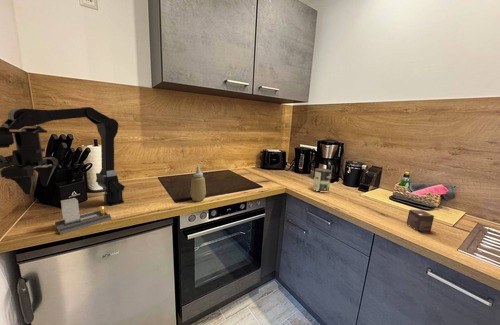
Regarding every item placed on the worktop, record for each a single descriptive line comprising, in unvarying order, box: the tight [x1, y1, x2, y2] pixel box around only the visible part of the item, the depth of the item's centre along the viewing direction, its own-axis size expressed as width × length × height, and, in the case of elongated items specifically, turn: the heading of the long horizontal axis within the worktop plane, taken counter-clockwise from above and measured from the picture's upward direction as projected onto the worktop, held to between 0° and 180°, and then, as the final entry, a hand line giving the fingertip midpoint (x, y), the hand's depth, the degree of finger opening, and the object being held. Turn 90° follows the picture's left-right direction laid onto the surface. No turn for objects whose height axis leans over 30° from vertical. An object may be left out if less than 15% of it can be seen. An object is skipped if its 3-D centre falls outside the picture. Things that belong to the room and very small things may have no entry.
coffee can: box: [312, 167, 333, 192], centre depth 130 cm, size 10×10×14 cm
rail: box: [54, 205, 112, 235], centre depth 75 cm, size 15×9×4 cm, turn 143°
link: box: [60, 197, 97, 226], centre depth 74 cm, size 9×5×8 cm, turn 143°
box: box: [406, 209, 435, 232], centre depth 85 cm, size 6×6×7 cm
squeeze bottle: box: [189, 165, 207, 202], centre depth 102 cm, size 8×8×18 cm
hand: (37, 189), depth 70 cm, fingers open, 9 cm apart
